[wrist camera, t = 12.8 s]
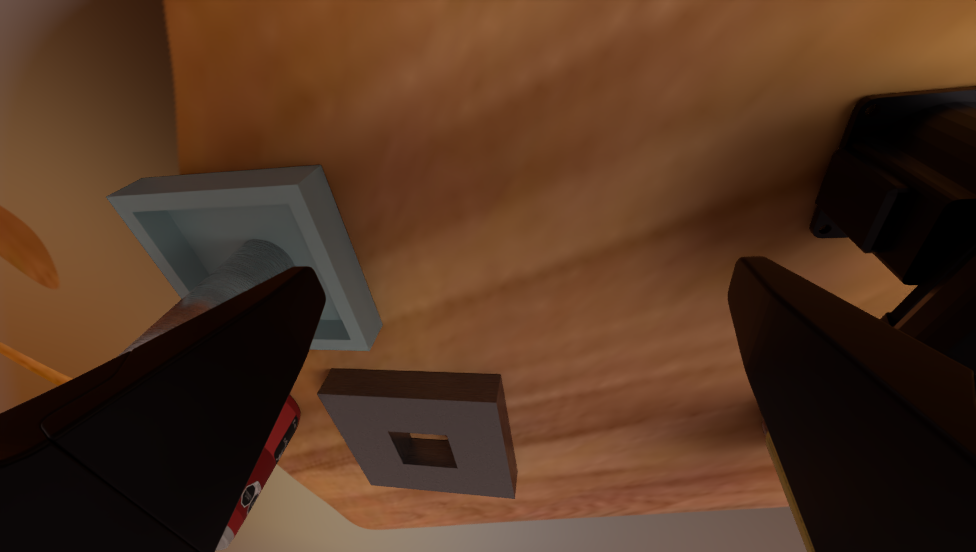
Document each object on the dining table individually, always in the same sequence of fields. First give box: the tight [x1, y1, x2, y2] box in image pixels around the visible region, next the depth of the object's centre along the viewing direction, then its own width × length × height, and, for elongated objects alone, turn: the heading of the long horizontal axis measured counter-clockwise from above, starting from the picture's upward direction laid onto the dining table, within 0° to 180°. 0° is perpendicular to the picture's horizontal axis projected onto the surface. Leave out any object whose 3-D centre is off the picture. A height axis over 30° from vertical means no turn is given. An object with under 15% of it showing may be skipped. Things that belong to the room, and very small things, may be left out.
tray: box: [106, 165, 383, 351], centre depth 26 cm, size 12×12×2 cm
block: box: [317, 369, 518, 499], centre depth 36 cm, size 14×14×2 cm
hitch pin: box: [119, 239, 295, 356], centre depth 21 cm, size 5×5×14 cm
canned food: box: [216, 395, 300, 550], centre depth 34 cm, size 8×8×11 cm
